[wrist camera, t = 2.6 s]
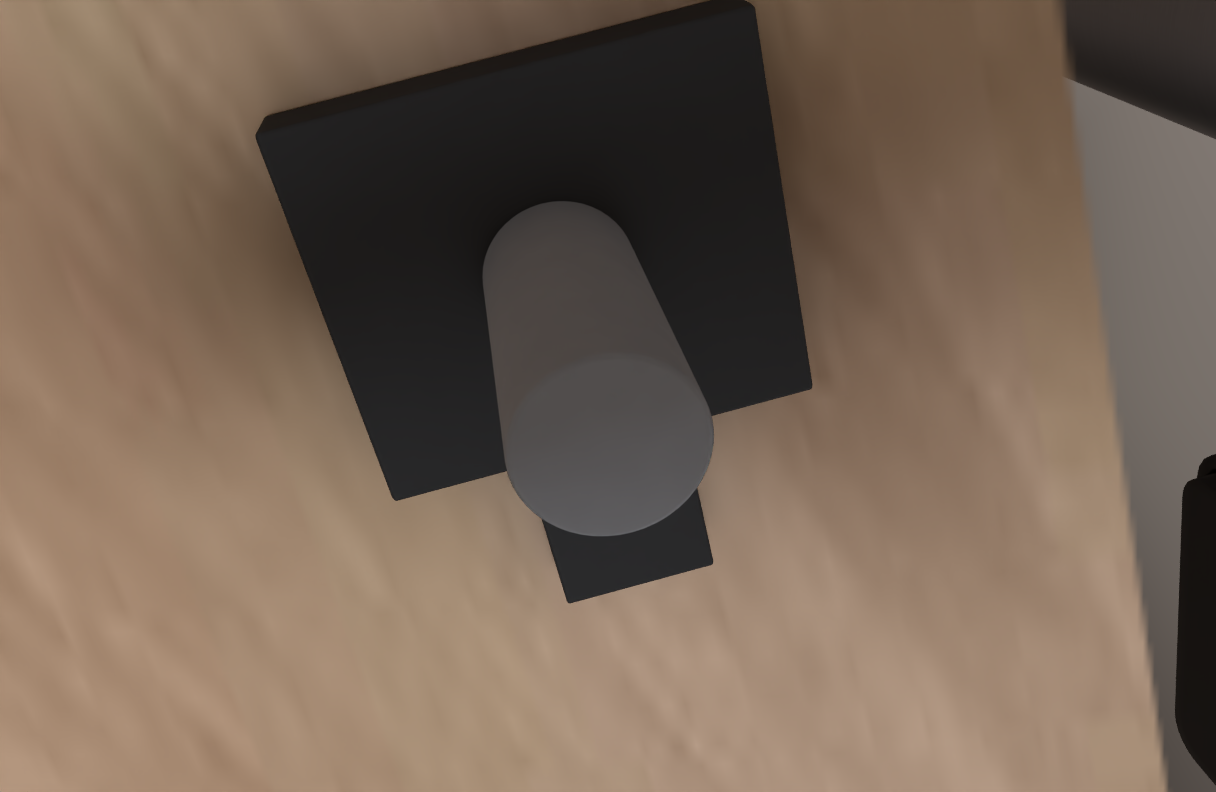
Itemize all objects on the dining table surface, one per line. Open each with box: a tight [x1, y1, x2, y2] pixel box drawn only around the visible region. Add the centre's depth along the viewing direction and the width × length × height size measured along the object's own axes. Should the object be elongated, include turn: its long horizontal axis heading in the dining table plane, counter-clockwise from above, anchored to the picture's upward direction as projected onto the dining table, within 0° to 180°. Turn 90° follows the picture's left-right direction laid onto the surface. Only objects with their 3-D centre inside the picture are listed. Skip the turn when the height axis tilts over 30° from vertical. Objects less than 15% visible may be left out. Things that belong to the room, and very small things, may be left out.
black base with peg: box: [256, 0, 812, 603], centre depth 18 cm, size 8×10×7 cm
